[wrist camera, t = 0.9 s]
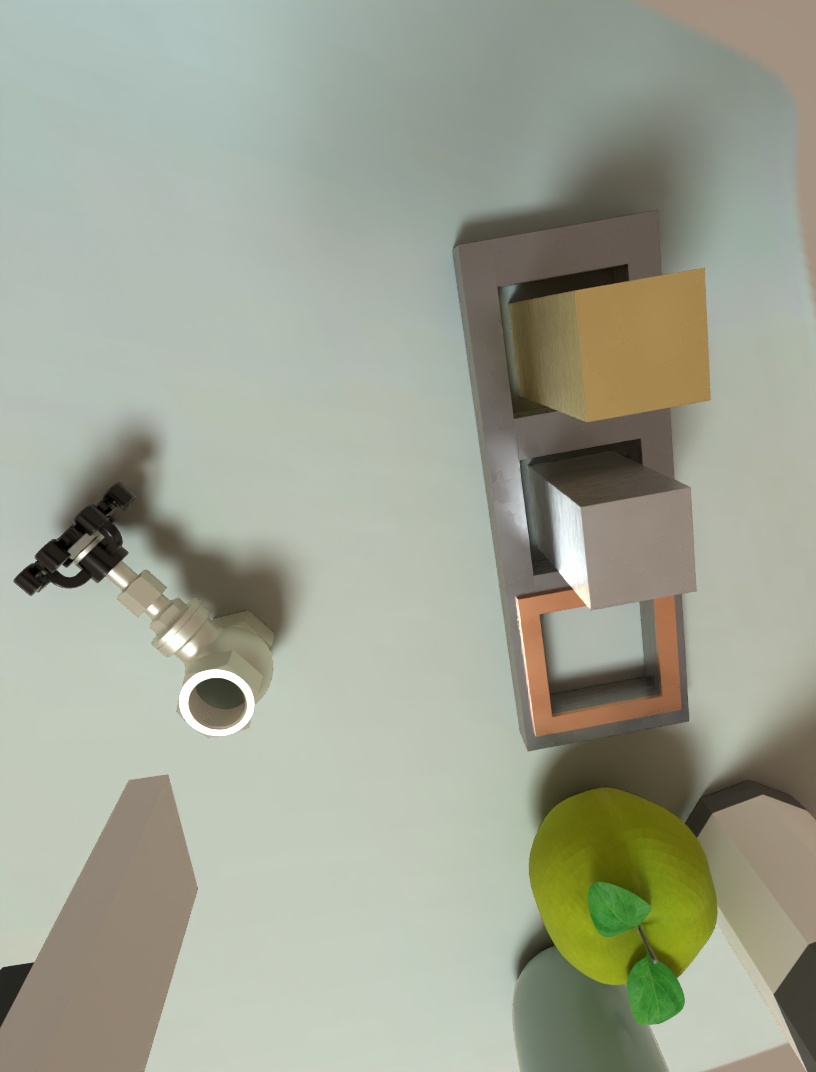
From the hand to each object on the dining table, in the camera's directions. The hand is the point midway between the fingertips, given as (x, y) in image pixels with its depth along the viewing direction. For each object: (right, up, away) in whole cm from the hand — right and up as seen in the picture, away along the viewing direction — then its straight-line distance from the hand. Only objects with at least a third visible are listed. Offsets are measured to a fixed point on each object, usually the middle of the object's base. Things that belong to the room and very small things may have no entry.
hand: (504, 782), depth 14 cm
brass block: (+5, +14, +20) cm, 26 cm away
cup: (+8, -23, +32) cm, 40 cm away
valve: (-14, +2, +23) cm, 27 cm away
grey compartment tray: (+7, +7, +23) cm, 25 cm away
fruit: (+9, -12, +29) cm, 32 cm away
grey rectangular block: (+7, +7, +23) cm, 25 cm away
